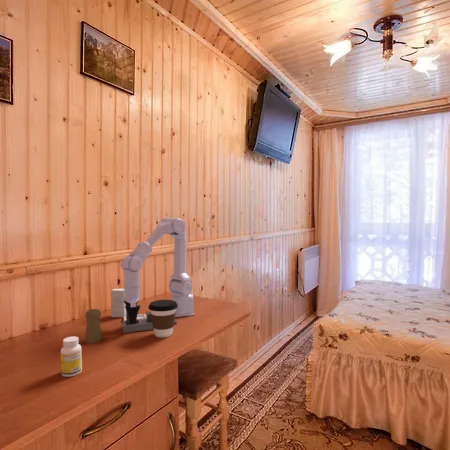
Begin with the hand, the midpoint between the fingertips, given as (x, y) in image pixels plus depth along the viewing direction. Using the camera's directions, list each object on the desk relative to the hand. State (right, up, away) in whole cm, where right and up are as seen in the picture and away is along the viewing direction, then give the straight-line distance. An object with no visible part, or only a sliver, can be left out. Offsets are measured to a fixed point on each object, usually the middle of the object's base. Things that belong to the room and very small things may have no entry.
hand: (132, 320), depth 129 cm
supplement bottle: (-7, -5, -36) cm, 37 cm away
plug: (0, -3, 0) cm, 3 cm away
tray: (-2, -3, +11) cm, 11 cm away
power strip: (+7, -3, +3) cm, 8 cm away
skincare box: (-10, -3, +17) cm, 20 cm away
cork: (-11, -4, -11) cm, 16 cm away
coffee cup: (+14, -4, -6) cm, 15 cm away
